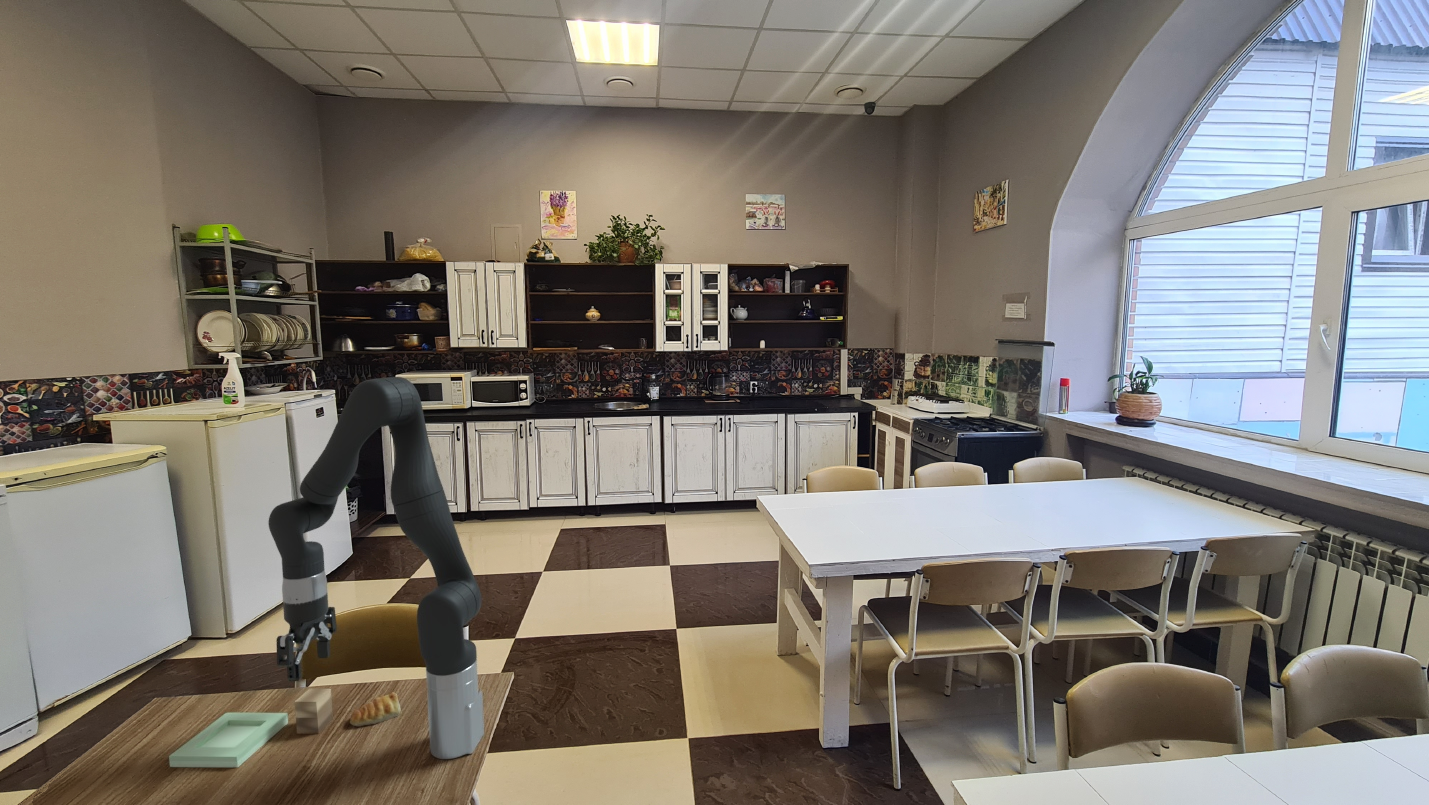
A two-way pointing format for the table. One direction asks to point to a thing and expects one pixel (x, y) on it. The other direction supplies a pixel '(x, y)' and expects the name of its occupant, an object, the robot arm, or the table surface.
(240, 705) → the table surface
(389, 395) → the robot arm
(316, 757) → the table surface
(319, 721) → the wooden block
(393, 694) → the pastry
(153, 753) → the table surface
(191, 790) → the table surface
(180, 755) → the plate
